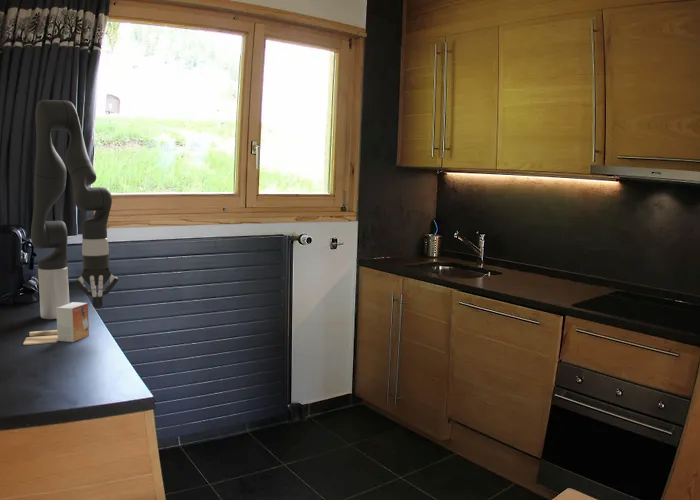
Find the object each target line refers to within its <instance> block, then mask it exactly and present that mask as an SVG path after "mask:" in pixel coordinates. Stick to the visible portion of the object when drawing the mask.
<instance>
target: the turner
mask: <svg viewBox="0 0 700 500" xmlns="http://www.w3.org/2000/svg"><path fill="white" fill-rule="evenodd" d="M28 335H29V336H28V337H39V336H52V335H58V333H57V329H51V330H50V329H49V330H39V331H37V330H35V331H29V333H28Z"/></svg>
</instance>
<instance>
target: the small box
mask: <svg viewBox="0 0 700 500" xmlns="http://www.w3.org/2000/svg"><path fill="white" fill-rule="evenodd" d="M88 303H89V302H78V301H77V302H76V301H71V302H69V304H66V305H64V306H61V307H57V308H56V314H57V319H56V330H57V333H58V340H57V342H68V343H75V342H76V341H79V340H81V339H85V338H87V337H89V336H90V323H89V322H90V321H89V318H90V317H89V304H88Z"/></svg>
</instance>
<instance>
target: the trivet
mask: <svg viewBox="0 0 700 500" xmlns="http://www.w3.org/2000/svg"><path fill="white" fill-rule="evenodd" d="M56 343H58V335H57V334H53V335H40V336H28V337H27V336H26V337H25V339H24V341H23V343H22V344H23V346H29V345H31V346H32V345H43V344H45V345H46V344H56Z"/></svg>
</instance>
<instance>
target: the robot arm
mask: <svg viewBox="0 0 700 500" xmlns="http://www.w3.org/2000/svg"><path fill="white" fill-rule="evenodd" d="M78 115H79V114H78V111H77V109H76V107H75V105H74V103H72V101H70V100H65V99H64V100H63V99H62V100H61V99H40V100H39V101H38V102H37V104H36V107H35V131H36V132H35V134H36V136H35V137H36V138H35V139H36V153H35V154H36V155H35V168H34V169H35V170H34V202H33V213H32V219H31V220H32V221H31V227H30V228H31V230H30V240H31V244H32V246H33V248H35V249H38V250H42V249H53V250H52V251H53V252H51V253H50V254H48V255H46V256H44V257H41V258H39V259H38V261H37V270H38V272H37V273H38V289H39V291H38V292H39V306H40V307H39V312H40V318H41V319H44V320H57V314H56V308H57V307H61V306H64V305H66V304H69V303H70V290H69V285H70V284H69V272H68V269H69V267H68V257H69V256H68V237H69V236H68V228H67V225H66V223H65V222H64V221H62V220H46V219H47V216H48V214H49V212H50V210H51V209H52V207H53V206H54V205H55V204H56V203H57V201H58V200H60V198H61V196H62V195H63V193H64V191H65V190H66V186H67V185H66V184H67V171H68V173H69V176H70V178H71V181H72V189H73V202H74V205H75V207H76V208H78V210H79V211H81V212H93V211H95V212H94V214H93V216H91V217H89V218H86V219H83V220H82V222H81V232H82V233H81V236H82V238H81V239H82V243H81V253H82V254H81V256H82V272H81V276H79V277H78V278H76V279H75V280H74V284H75V285H76V286H77V287H78V288H79V289H80V290H81V291H82V292H83V293H84V294H85V295H86V296H89V297H91V298H92V307H93V308H95V310H98V309H101V307H103V306H104V301H103V299H104V298H103V297H104V296H105V295H108V294H109V293H110V292H111V291H112V290H113V288H115V287H114V286H115V285H116V284H117V282H118V281H119V278H118V276H115V275H113V274H112V271H111V269H110V248H109V247H110V246H109V241H108V221H109V216H110V212H111V208H112V204H113V197H112V194H111V191H110V190H109V189H108V188H106V187H103V186H100V187H99V186H96V187H95V186H94V187H88V186H91V185H92V184H94V183H95V182H96V180H97V173H96V171H95V169H94V166H93V164H92V161H91V160H90V157H89V154H88V152H87V151H88V150H87V147H86V144H85V139H84V135H83V129H82V126H81V123H80V118H79V116H78ZM52 131H67V133H68V135H69V143H68V147H67V150H66V153H65V158H64V159H65V160H64V161H65V163H64V161H63V159H62V158H61V156H60V155H59V153H58V152H57V150H56V148H55V146H54V144H53V141H52ZM108 280H109V284H108V285H107V287H106V288H105V289H104V288H103V287H104V285H105V284H106V283H107V282H108ZM84 281H85V282H86V284H88V285H89V286H90V288H91V290H90V289H89V288H88V287H87V286H86V285H85V284H84ZM96 286H97V287H98V291H97V287H96Z"/></svg>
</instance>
